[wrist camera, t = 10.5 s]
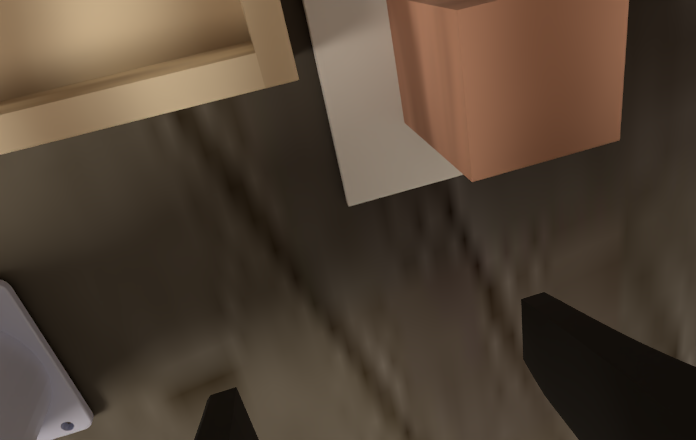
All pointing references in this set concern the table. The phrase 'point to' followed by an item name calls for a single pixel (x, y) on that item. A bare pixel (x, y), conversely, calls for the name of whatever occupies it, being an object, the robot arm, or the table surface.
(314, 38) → the grey mat
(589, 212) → the table surface
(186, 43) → the organiser box
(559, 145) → the terracotta block
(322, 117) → the table surface
